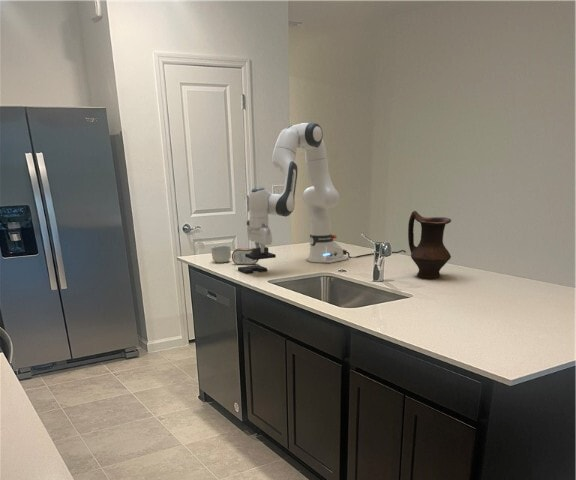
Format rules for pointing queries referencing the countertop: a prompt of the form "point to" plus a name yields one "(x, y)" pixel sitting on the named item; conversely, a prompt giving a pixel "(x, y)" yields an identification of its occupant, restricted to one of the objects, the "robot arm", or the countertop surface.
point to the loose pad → (260, 254)
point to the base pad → (252, 269)
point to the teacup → (221, 254)
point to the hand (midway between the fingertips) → (260, 251)
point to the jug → (428, 245)
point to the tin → (242, 257)
